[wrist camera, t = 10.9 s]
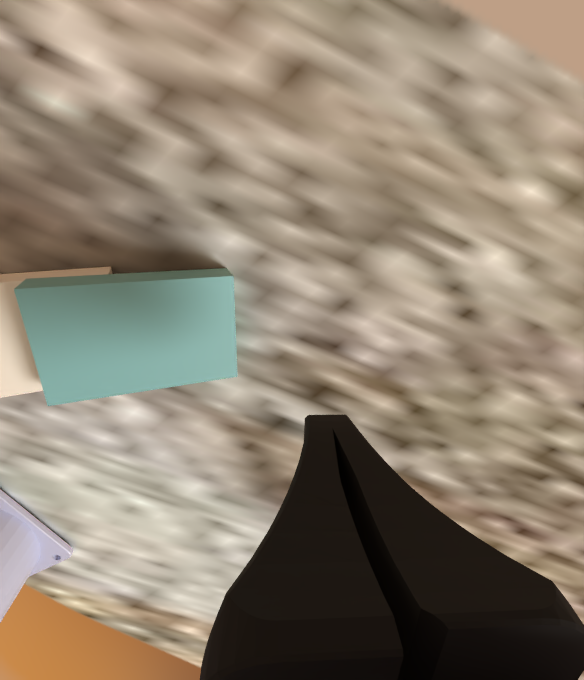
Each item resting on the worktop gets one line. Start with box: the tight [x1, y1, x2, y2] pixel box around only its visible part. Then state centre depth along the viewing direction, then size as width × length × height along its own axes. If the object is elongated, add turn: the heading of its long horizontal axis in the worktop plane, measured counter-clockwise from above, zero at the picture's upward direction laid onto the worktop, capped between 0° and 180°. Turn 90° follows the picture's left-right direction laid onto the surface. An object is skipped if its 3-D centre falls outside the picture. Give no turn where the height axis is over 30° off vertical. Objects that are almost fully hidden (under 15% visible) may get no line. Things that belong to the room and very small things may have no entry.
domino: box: [0, 266, 112, 398], centre depth 16 cm, size 2×5×8 cm
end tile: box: [14, 268, 237, 406], centre depth 16 cm, size 2×5×8 cm
